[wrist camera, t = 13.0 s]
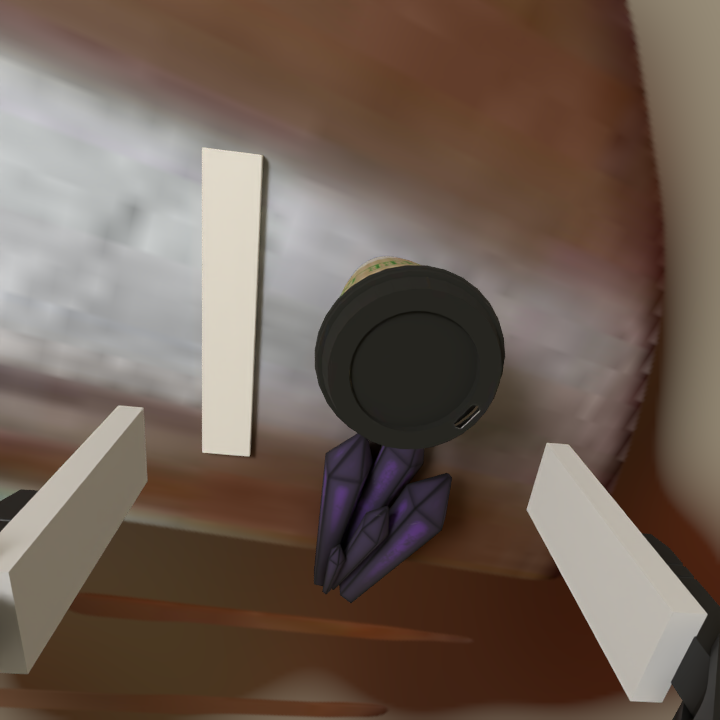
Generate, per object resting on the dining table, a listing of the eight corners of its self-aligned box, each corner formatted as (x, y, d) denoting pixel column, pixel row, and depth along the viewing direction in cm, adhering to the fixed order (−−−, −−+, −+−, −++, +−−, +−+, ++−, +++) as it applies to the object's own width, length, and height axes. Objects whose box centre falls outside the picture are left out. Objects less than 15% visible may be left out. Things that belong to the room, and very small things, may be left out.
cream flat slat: (204, 448, 42) (202, 452, 41) (204, 147, 33) (202, 147, 33) (250, 452, 42) (249, 456, 42) (263, 155, 33) (261, 155, 33)
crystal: (382, 642, 43) (500, 478, 34) (261, 593, 42) (353, 413, 34) (386, 577, 49) (487, 426, 41) (282, 533, 48) (363, 370, 40)
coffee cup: (381, 202, 35) (410, 226, 21) (475, 289, 37) (558, 362, 23) (295, 303, 37) (270, 386, 23) (390, 378, 40) (418, 493, 26)
